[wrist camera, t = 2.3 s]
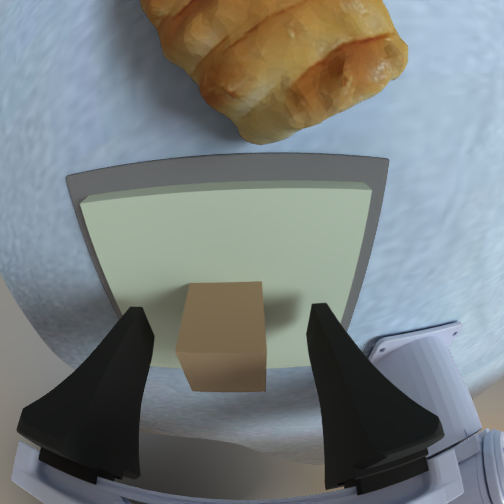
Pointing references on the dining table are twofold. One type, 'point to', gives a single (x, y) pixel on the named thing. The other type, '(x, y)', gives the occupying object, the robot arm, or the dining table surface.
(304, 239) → the cover
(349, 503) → the robot arm
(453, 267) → the dining table surface
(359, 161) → the mat
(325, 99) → the pastry
